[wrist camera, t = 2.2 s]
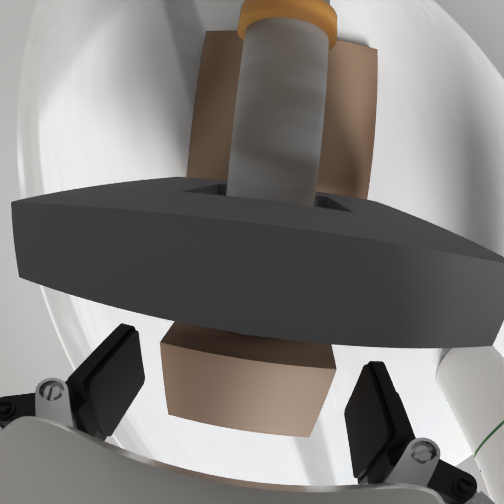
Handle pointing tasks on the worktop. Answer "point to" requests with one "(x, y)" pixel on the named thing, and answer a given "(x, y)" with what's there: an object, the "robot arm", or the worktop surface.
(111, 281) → the dark grey square plate
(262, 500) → the robot arm
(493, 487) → the cylindrical container
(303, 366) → the pipe mount
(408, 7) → the worktop surface
